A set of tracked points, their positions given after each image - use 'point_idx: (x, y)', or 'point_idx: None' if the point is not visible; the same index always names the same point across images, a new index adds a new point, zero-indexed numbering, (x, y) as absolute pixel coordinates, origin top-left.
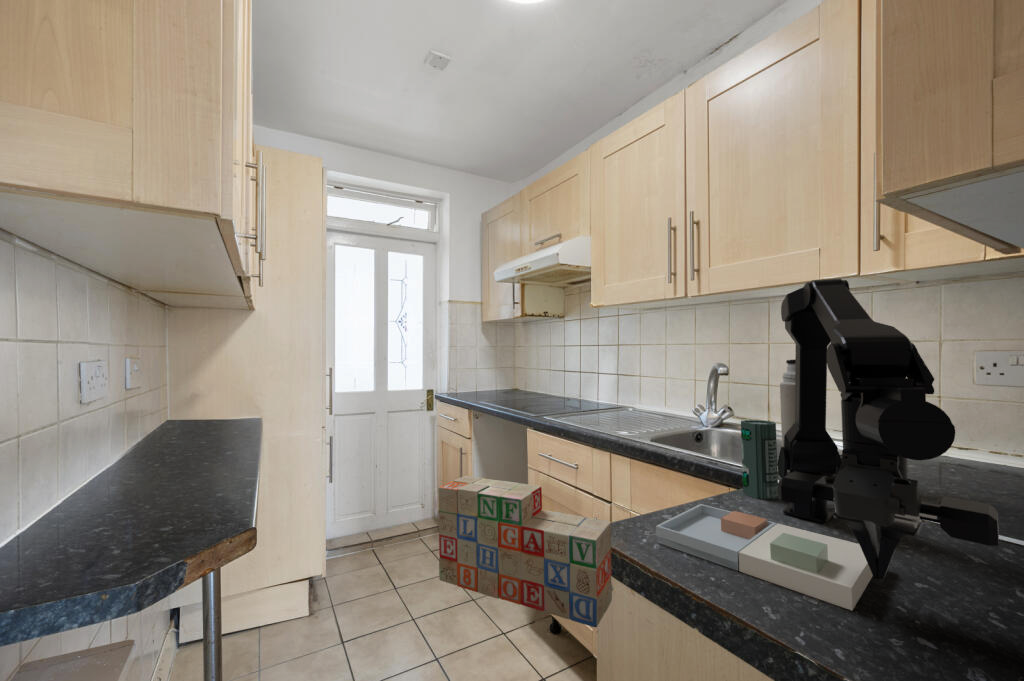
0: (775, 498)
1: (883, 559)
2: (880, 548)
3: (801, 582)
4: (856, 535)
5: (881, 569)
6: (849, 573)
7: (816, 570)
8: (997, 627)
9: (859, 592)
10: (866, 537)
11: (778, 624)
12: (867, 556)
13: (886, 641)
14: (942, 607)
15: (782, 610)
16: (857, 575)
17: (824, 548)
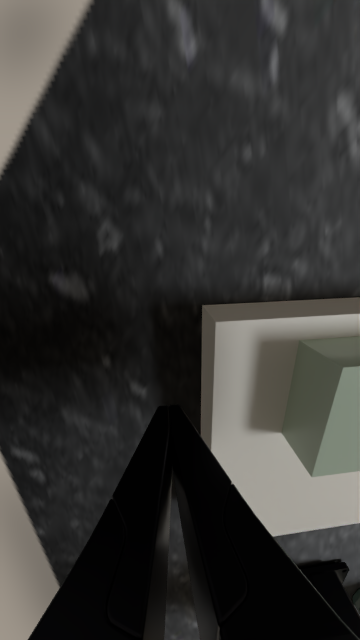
0: (356, 593)
1: (148, 466)
2: (152, 524)
3: (312, 307)
4: (289, 573)
5: (159, 429)
6: (232, 403)
7: (305, 343)
8: (18, 441)
9: (203, 378)
10: (231, 589)
11: (329, 65)
12: (202, 454)
13: (121, 219)
14: (94, 444)
15: (324, 169)
16: (216, 406)
17: (315, 450)
